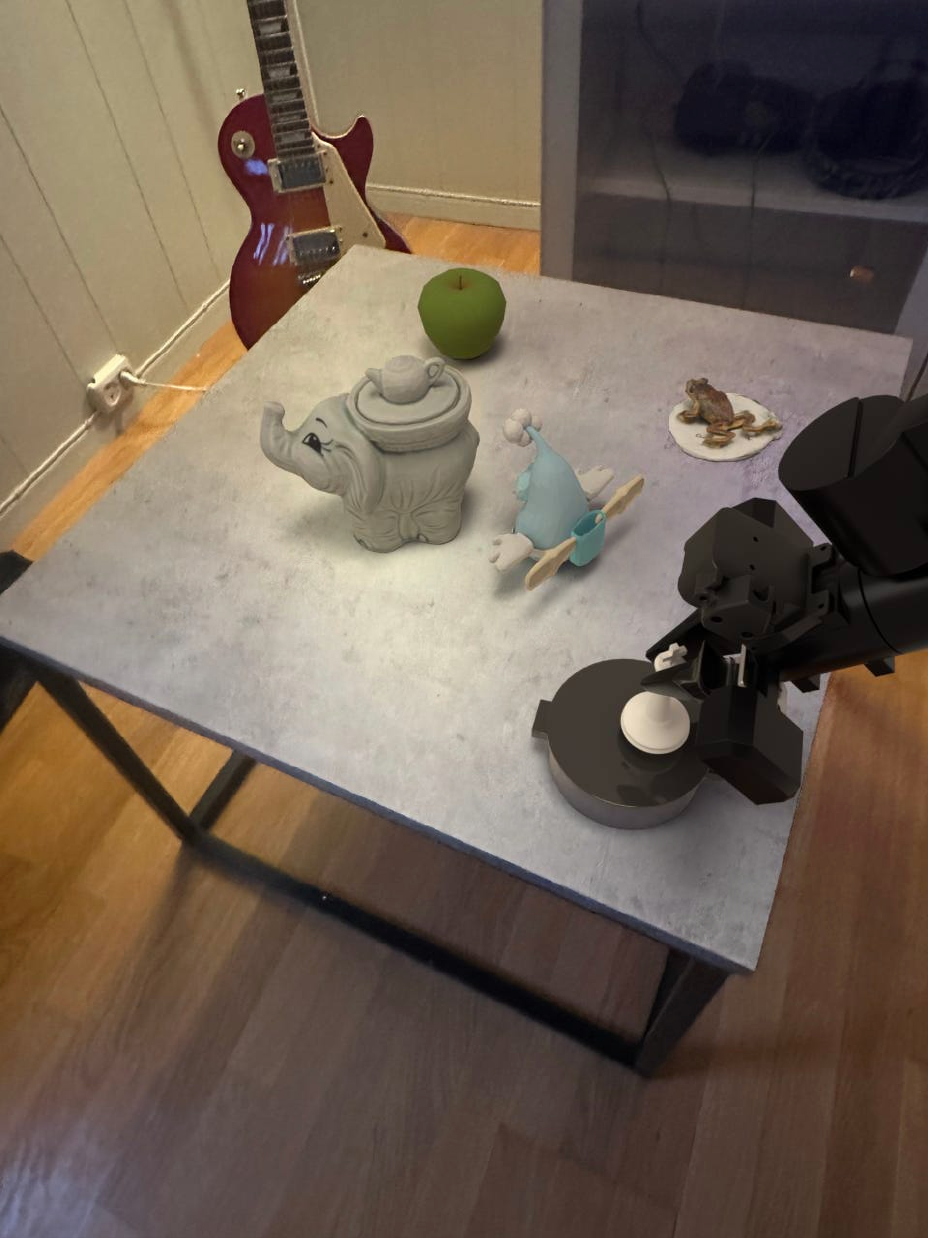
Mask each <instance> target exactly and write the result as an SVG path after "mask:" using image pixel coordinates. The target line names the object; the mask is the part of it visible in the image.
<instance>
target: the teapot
mask: <svg viewBox="0 0 928 1238" xmlns="http://www.w3.org/2000/svg"><path fill="white" fill-rule="evenodd" d="M472 403H473V396H472V391H471V387H470V385H469V383H468V380H467V379H466V378H465V377H464V375H463V374H462V372H461V371H459V370H458V369H457V368H455V367H452V366H451V365H448V364H446V363H445V361H444V359H443V358H441V357H439V356H436V357H435V356H434V357H430V358H428V359H427V360H426V361H423V360H422V359H420V358H418V357H416V356H414V355H409V354H401V355H397V356H394V357H392V358H390V359H389V360H388V361H386V362H385V363H384V365H383V367H382V368H381V367H380V368H374V367H367V368H366V369H365V371H364V376H363V377H361V378H360V379H359V380H357V381H356V383H354V385H353V386H352V388H351V390H350V391H349V392H342V393H340V394H338V395H334V396H329V397H327V398H324V399H323V400H321V401H320V402H319V403H317V404H316V405H315V406H314V407H313V409H312V410H311V411H310V413H309V414H308V415H307V417H306V418H305V420H304V421H303V422H302V424H301V425H300V426H298V428H296V429H294V430H288V429H286V428H285V425H284V423H283V420H284V417H285V415H286V409H285V407H284V405H283V403H281V402H277V401H265V403H264V405H263V411H262V417H261V421H260V431H259V444H260V448H261V452H262V453H263V455H264V456H265V458H266V459H267V460H268V462H270V463H272V464H273V465H274V466H275V467H277V468H279V469H281V470H283V471H285V472H288V473H291V474H294V475H296V476H297V477H300V478H301V479H303V480H304V481H305V482H306V483H307V484H308V485H309V486H310V487H311V488H313V489H315V490H317V491H319V492H322V493H325V494H329V495H330V494H331V495H336V496H338V497H339V498H341V500H342V507H343V512H344V515H345V518H346V520H347V521H348V522H349V524H350V525H351V526H352V528H353V538H354V540H355V542H357V544H359V545H360V546H362V547H363V548H365V549H366V550H369V551H372V552H376V553H377V552H378V553H389V552H393V551H395V550H397V549H398V548H400V547H401V546H403V545H404V544H406V543H409V542H412V541H418V542H423V543H428V544H431V545H432V544H435V545H437V544H438V545H439V544H444V543H448V542H449V541H451V540H453V539H454V538H456V536H457V535H458V533H459V530H460V529H461V525H462V502H463V499H464V495H465V491H466V484H467V482H468V480H469V478H470V475H471V473H472V471H473V468H474V465H475V461H476V458H477V451H478V448H479V446H480V442H481V436H480V433H479V431H478V430H477V429H476V427H475V426H474V424H472V422H471V420H469V416H470V412H471V408H472Z"/></svg>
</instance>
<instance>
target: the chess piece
mask: <svg viewBox="0 0 928 1238" xmlns="http://www.w3.org/2000/svg"><path fill="white" fill-rule="evenodd" d="M686 653H687V650H686V648H685V647H684V646H681V647H679V646H678V645H677V643H675V644H672V645H670V648H669V651H666V652H663V653H660V654H659V655H658V656H657V657H656V659H655V662H654V666H655V670H656V672H657V671H660V670H663V669H666V668H669V667H672V666H675V665H678V664H681V663H684V662H685V660H684V659H683V657H682V656H684V655H686ZM621 727H622V731H623V733H624V735H625V736H626V738H627V739H628V740H629V742H630V743H631V744H633V745H634V746H635V747H637V748H638V749H640V750H642V751H645V752H648V753H653V754H664V753H669V752H672V751H674V750H676V749H678V748H679V747H680V746H682V745H683V744H684V742H685V741H686V739H687V737H688V734H689V729H690V720H689V716H688V713H687V711H686V709H685V707H684V706H683V705H682V704H681V703H680V702H679V701H678V700H677V699H676V698H673V697H668V696H664V695H659V694H655V693H651V692H643V693H640V694H638V695H636V696H634V697H633V698H631V699H630V700H629V701H628V703H627V704H626V706H625V708H624V709H623V712H622V715H621Z"/></svg>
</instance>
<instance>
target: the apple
mask: <svg viewBox="0 0 928 1238" xmlns="http://www.w3.org/2000/svg"><path fill="white" fill-rule="evenodd" d="M418 299H419V300H418V303H417V306H416V307H417V311H418V314H419V317H420V321H421V323H422V327H423V329H424V333H425V335H426V336H427V337H428V339H429V340H430V341H431V342H432V345H434V347H435V348H436V349H437V350H438V351H439V352H440V354H441V355H443V356H446V357H449V358H451V359H459V360H472V359H476V358H477V357H479V356H481V355H482V354H484V353H486V352H487V351H488V350H489V349H490V348H491V347H492V345H493V343H494V342H495V339H496V338H497V336H498V334H499V332H500V330H501V328H502V325H503V323H504V321H505V317H506V315H505V314H506V309H507V299H506V297H505V294H504V292H503V289H502V286H501V284H500V282H499V281H498V280H497V279H495V278H494V277H493V276H491V275H490V274H487V273H485V272H484V271H481V270H478V269H475V268H469V267H455V268H449V269H448V270H445V271H443V272H441V273H440V274H439V273H438V274H437V275H435V276H432V277H431V278H430V280H428V281H427V282H426V283H425V284H424V285H423V287H422V290H421V292H420V295H419V298H418Z"/></svg>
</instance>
